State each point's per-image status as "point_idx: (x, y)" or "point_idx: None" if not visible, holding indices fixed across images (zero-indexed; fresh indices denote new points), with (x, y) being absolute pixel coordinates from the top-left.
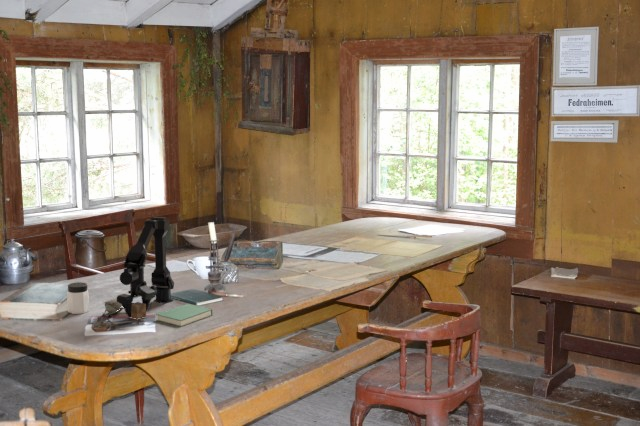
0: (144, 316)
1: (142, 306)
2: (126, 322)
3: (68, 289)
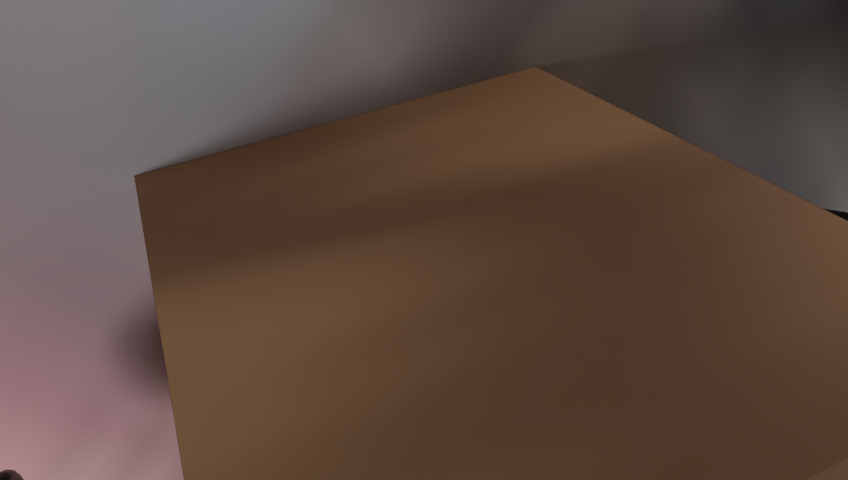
0: (232, 171)
1: (587, 452)
2: (809, 72)
3: None
